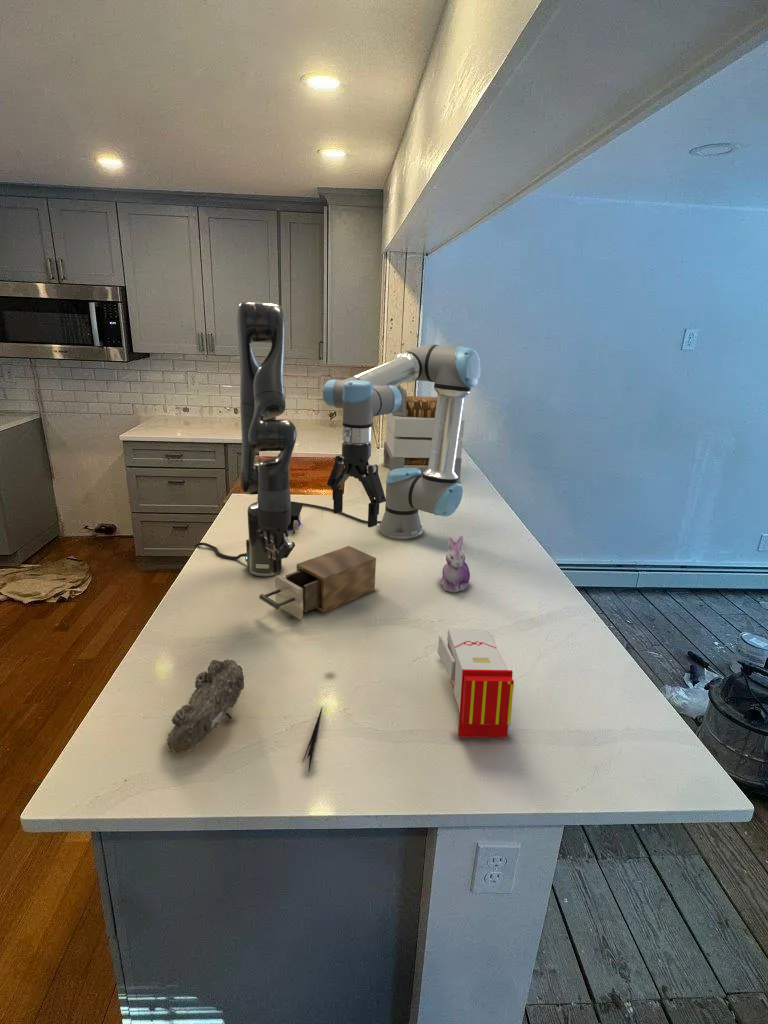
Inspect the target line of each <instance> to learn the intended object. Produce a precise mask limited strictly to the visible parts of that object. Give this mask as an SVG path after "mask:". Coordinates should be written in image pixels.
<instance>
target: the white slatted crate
mask: <svg viewBox="0 0 768 1024" xmlns="http://www.w3.org/2000/svg"><path fill="white" fill-rule="evenodd" d="M396 388H398V390H399V391H400V393H401V396H402V402H401V405H400V407H399V409H398V410H397V411H395V412H392V413H390V414H385V423H386V428H385V438H384V442H383V466H384V467H388V468H389V471H391V470H394V469H398V468H405V466H406V467H407V466H411V467H412V466H413V467H415V466H416V467H417V466H418V467H428V465H429V457H430V450H431V442H432V435H433V427H434V419H435V412H436V404H437V397H438V396H415V395H414V396H413V395H412V396H411V395H407V394H408V393H407V390H406V389H404V388H403V387H402V385H401V384H399V385H397V386H396ZM464 429H465V419H464V418H462V419H461V426H460V433H459V440H458V447H457V454H456V461H455V468H454V472H455V473H456V475H457V476H458V480H457V483H458V484H460V483H461V472H462V461H463V460H462V453H463V442H464V441H463V440H462V439H463V438H464V431H465V430H464Z"/></svg>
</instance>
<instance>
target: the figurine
mask: <svg viewBox="0 0 768 1024" xmlns="http://www.w3.org/2000/svg"><path fill="white" fill-rule="evenodd" d="M463 543H464V536H463V535H460V536H459V537H458V539H457V541H456V542H455V541H454V539H453V538H452V537H451V536H448V537H447V547H448V548H447V549H448V551H447V553H446V555H445V561H446V563H445V564H444V565H443V567H442V572H441V573H442V576H441V577H442V578H441V581H440V583H441V587H443V590H444V591H446V592H450V593H458V592H460V591H461V592H462V591H465V590H466V589H467V588H468V586H469V583H470V579H471V572H470V568H469V566H468V564H467V563H466V555H465V552H464V551H463V545H464V544H463Z"/></svg>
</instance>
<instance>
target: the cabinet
mask: <svg viewBox="0 0 768 1024" xmlns="http://www.w3.org/2000/svg"><path fill="white" fill-rule="evenodd" d="M376 563H377V557H375V556H372V555H370V554H368V553H366V552H363V551H361V550H359V549H357V548H355V547H353V546H350V545H346V546H344V547H342V548H338V549H335V550H333V551H330V552H327V553H324V554H321V555H318V556H316V557H313V558H310V559H307V560H304V561H301V562H299V563H296V571H299V570H303V571H305V572H307V573H308V574H310V575H312V576H314V577H316V578H318V579H320V580H321V606H319V607H317V608H315V610H318V611H319V612H321V613H323V614H324V613H328V612H329V611H332V610H334V609H336V608H338V607H340V606H342V605H345V604H347V603H349V602H351V601H354V600H356V599H359V598H360V597H363V596H366V595H368V594H370V593H372V592H374V591H376V572H377V571H376V570H377V567H376V566H377V564H376Z"/></svg>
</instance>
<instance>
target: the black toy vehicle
mask: <svg viewBox="0 0 768 1024" xmlns="http://www.w3.org/2000/svg"><path fill="white" fill-rule="evenodd" d="M303 506H304V505H303V504H293V503H291V523H290V524H289V525H288V527H287V531H288V532H292V535H295V534H296V531H298V530H299V527H300V526H301V525H302V522H301V512H302V510H303Z"/></svg>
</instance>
